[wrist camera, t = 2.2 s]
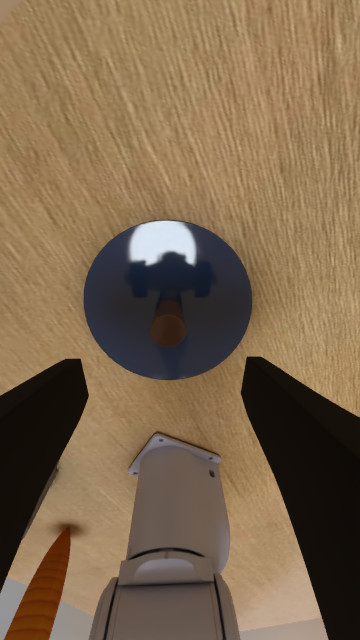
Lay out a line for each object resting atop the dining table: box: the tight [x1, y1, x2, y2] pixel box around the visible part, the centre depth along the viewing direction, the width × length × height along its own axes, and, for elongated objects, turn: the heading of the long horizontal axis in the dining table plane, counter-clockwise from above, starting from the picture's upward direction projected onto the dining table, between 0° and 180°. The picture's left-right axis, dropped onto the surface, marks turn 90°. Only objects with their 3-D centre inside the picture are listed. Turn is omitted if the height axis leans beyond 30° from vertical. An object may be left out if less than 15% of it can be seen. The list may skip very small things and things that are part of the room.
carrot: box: [4, 528, 70, 640], centre depth 24 cm, size 5×5×15 cm
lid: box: [84, 220, 252, 380], centre depth 15 cm, size 14×14×5 cm
